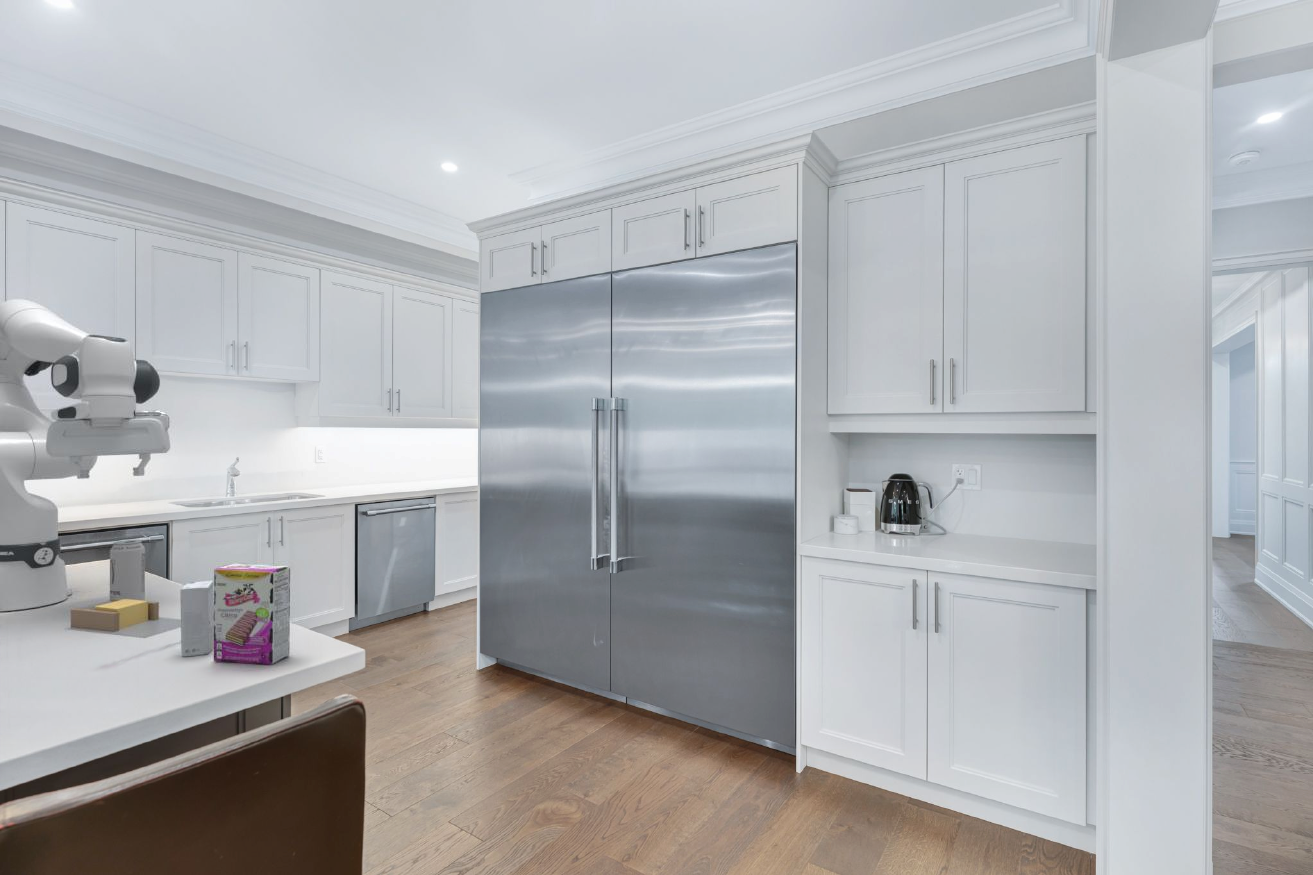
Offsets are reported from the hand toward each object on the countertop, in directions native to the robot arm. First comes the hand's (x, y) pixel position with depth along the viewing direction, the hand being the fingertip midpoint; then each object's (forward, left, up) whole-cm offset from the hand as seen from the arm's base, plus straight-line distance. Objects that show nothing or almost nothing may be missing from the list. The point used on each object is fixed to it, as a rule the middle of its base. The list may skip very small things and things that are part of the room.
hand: (111, 477), depth 136 cm
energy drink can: (-4, +7, -30) cm, 31 cm away
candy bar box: (+48, -11, -30) cm, 58 cm away
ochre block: (+9, -4, -29) cm, 30 cm away
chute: (+12, -4, -30) cm, 32 cm away
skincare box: (+35, -10, -30) cm, 47 cm away
